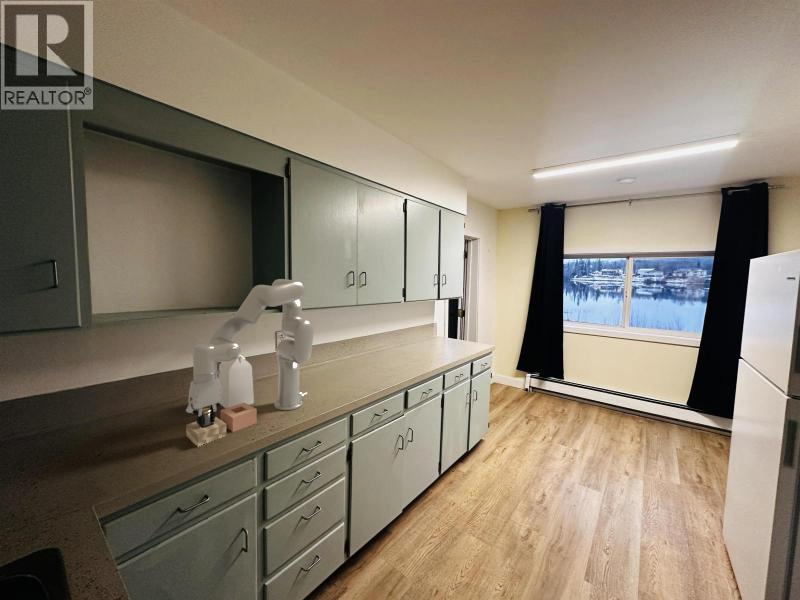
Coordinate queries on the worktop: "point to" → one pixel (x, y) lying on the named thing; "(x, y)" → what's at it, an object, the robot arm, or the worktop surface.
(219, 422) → the mount
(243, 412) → the dock
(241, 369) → the milk
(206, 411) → the pin
